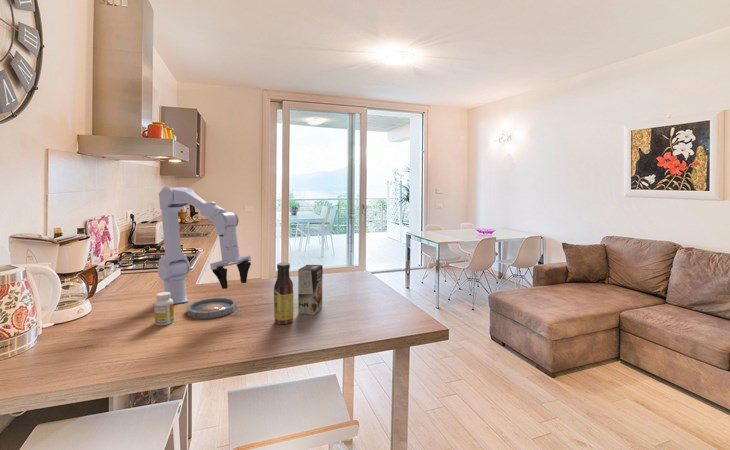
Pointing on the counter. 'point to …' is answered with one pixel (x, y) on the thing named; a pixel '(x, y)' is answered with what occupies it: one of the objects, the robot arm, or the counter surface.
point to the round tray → (211, 307)
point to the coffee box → (310, 289)
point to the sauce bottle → (283, 295)
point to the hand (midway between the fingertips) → (234, 285)
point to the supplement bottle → (163, 309)
